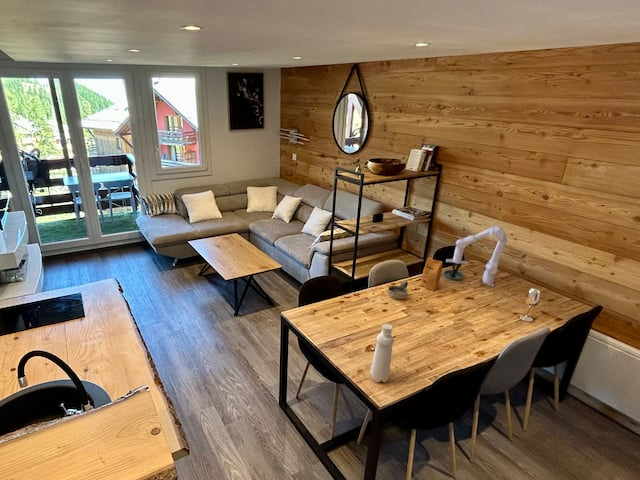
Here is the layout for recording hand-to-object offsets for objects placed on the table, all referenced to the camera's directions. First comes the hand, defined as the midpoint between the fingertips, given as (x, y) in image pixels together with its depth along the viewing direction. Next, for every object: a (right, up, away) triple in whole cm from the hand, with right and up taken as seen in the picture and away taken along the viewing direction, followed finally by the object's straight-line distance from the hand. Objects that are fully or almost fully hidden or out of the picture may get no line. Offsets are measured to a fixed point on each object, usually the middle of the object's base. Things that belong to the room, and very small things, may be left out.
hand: (454, 271), depth 294 cm
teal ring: (0, -5, +2) cm, 6 cm away
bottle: (-83, -48, -102) cm, 140 cm away
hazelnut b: (-2, -2, +5) cm, 6 cm away
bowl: (-50, -16, -25) cm, 58 cm away
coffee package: (-23, -10, -11) cm, 27 cm away
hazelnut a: (+2, -5, 0) cm, 5 cm away
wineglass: (+24, -27, -47) cm, 60 cm away
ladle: (0, -4, +3) cm, 5 cm away
